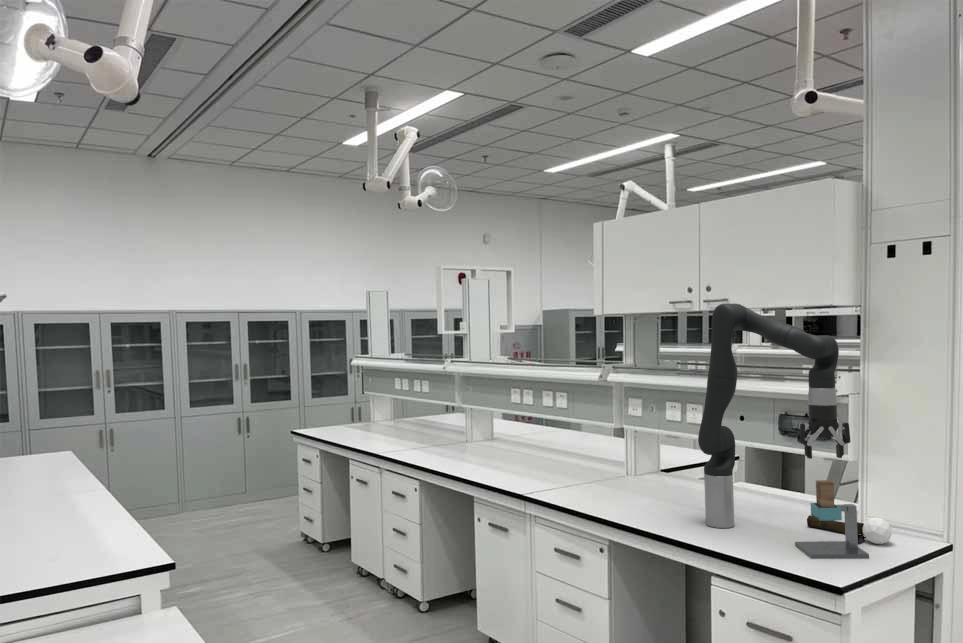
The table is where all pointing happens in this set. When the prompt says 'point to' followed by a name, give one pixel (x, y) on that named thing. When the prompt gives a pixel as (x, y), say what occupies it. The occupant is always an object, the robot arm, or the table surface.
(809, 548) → the cup bracket
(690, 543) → the table surface
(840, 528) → the hand tool
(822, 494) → the brown wooden block
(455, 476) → the table surface
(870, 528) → the ball
